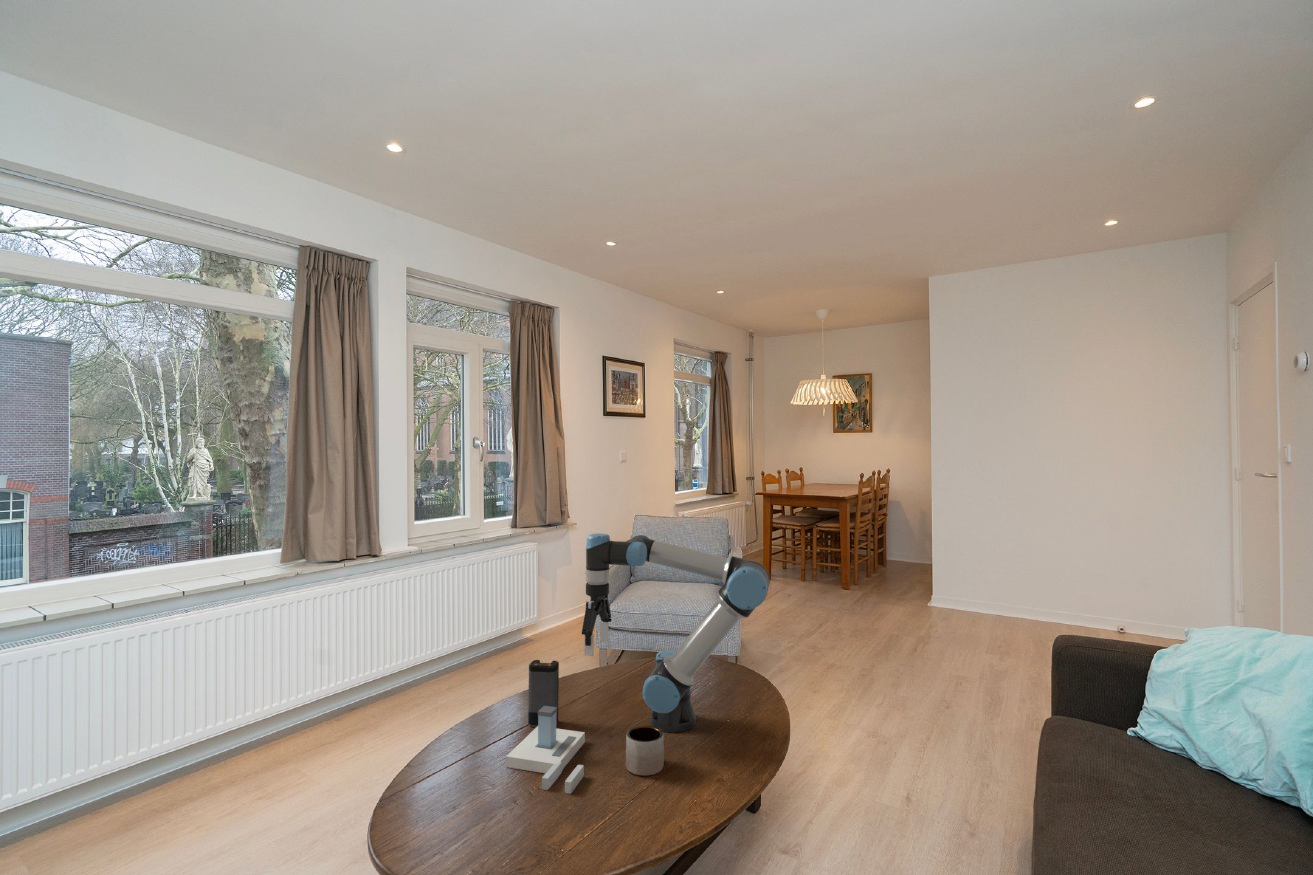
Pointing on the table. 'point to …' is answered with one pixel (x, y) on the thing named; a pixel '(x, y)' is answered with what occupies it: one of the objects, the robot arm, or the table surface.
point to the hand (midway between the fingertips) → (596, 648)
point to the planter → (644, 750)
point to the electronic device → (542, 689)
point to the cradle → (570, 781)
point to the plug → (547, 727)
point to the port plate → (545, 751)
